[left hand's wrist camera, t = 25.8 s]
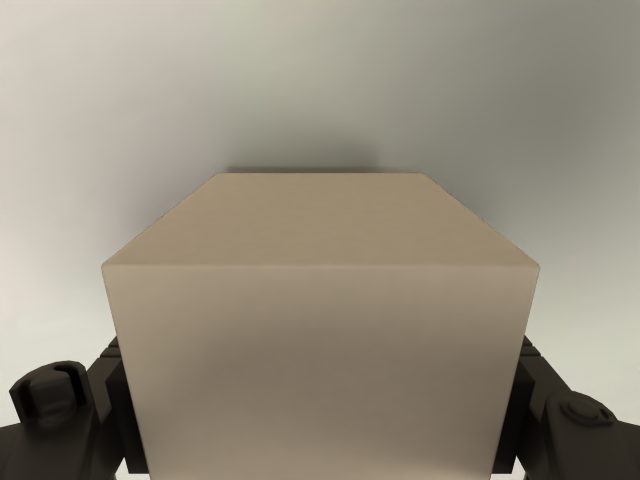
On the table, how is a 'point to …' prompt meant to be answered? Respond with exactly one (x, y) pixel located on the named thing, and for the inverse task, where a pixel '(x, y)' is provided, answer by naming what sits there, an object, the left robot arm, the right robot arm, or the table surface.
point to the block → (320, 330)
